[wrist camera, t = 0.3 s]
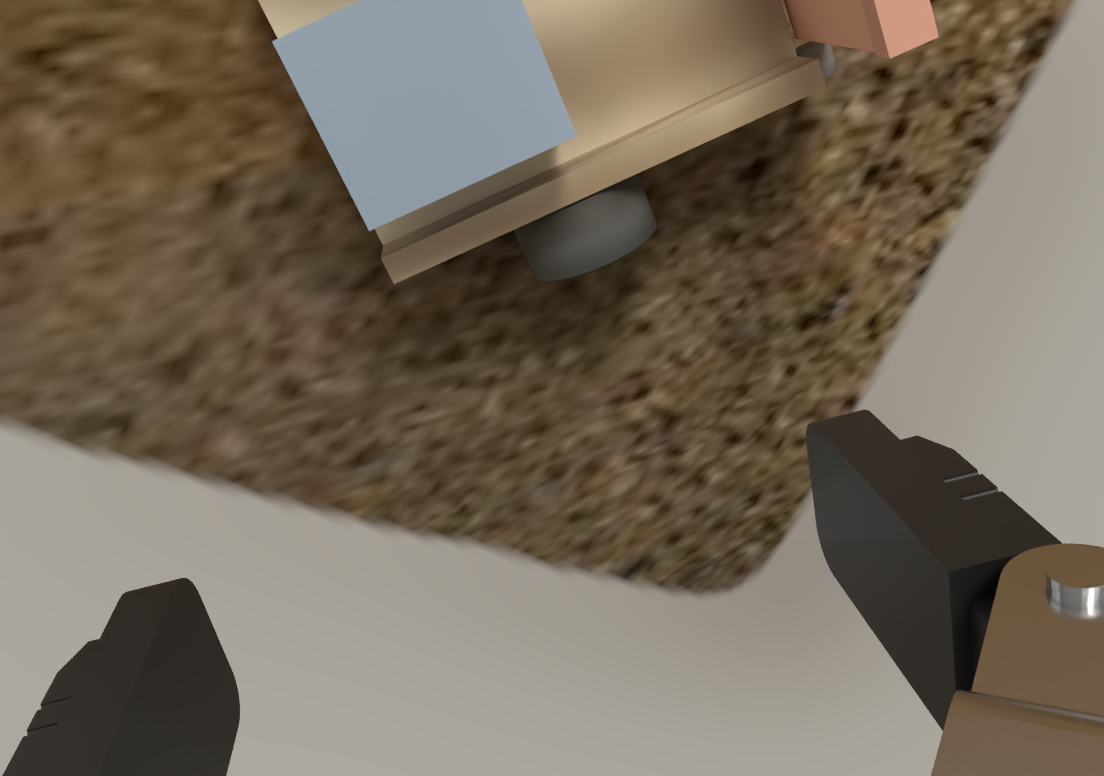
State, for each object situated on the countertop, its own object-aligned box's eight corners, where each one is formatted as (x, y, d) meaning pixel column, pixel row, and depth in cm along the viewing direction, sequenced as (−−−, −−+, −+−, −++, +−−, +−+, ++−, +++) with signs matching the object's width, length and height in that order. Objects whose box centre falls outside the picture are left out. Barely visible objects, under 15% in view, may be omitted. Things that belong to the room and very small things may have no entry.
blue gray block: (293, 36, 33) (271, 41, 28) (485, -53, 32) (495, -64, 28) (376, 201, 35) (369, 230, 30) (556, 118, 35) (576, 136, 30)
